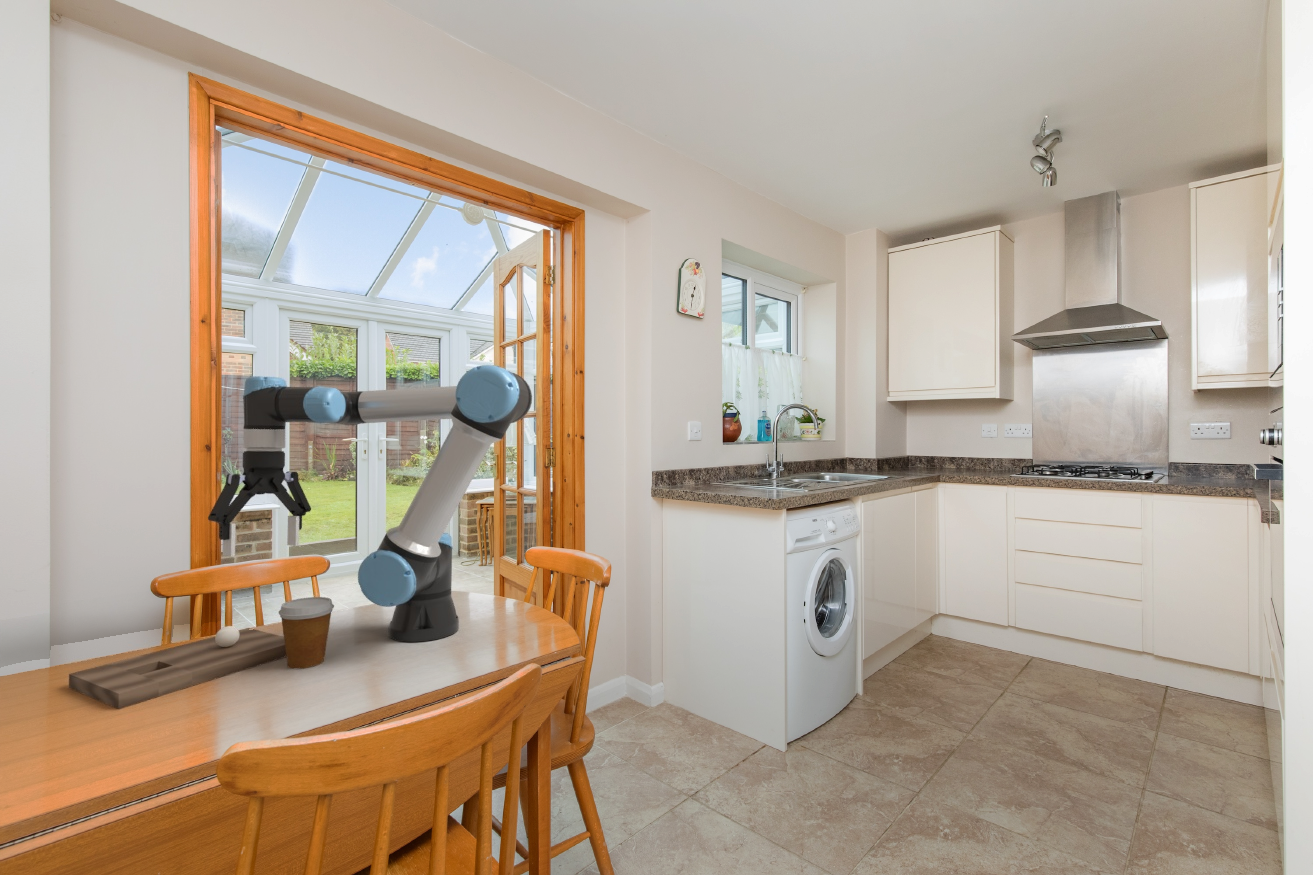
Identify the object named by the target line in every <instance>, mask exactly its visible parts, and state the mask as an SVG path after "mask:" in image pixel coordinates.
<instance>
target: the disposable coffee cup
mask: <svg viewBox="0 0 1313 875" xmlns="http://www.w3.org/2000/svg"><path fill="white" fill-rule="evenodd" d="M334 608H335V605H334V604H333V601H332V599H331V598H329V597H325V596H311V597H302V598H296V599H292V600H288V601H286V602H283V603H282V604H281V606H280V610H279V611H278V615H279V617H280V618H281V624H282V625H281V626H282V633H283V634H282V635H283V637H284V642H285V650H286V657H285V658H286V665H287V668H290V669H294V668H301V669H307V668H313V667H316V666H319V665H321V664H322V663H324V662H325V658H326V657H325V656H326V649H327V645H328V644H327V642H328V636H329V630H330V624H331V623H330V622H331V616H332V612H333V609H334ZM312 666H313V667H312Z"/></svg>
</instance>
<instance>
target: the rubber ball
mask: <svg viewBox="0 0 1313 875" xmlns="http://www.w3.org/2000/svg"><path fill="white" fill-rule="evenodd" d="M238 630H239V629H238V628H236V627H235V626H232V625H228V626H224V627H222V628H220V629H219V630H218V631H217V632H216V633H215V636H214V637H215V641H216V643H217V644H218V645H219V646H221V647H229V646H232V645H234V644H235V643H236V642H237V641H238V639H239V636H240V633H239V631H238Z"/></svg>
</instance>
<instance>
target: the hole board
mask: <svg viewBox="0 0 1313 875" xmlns="http://www.w3.org/2000/svg"><path fill="white" fill-rule="evenodd" d="M249 629H253V630H249ZM238 631H239V633H240V636H239V639H238V641H237V642H236V643H235V644H234V645H232V646H229V647H221V646H219V645H218V644H217V643H216V641H215V636H211V637H207V638H203V639H201V640H196V641H191V642H188V643H185V644H180V645H176V646H172V647H169V648H165V649H161V650H157V651H153V652H149V653H145V654H141V655H138V656H134V657H130V658H126V659H122V660H118V661H117V660H116V661H113V662H109V663H105V664H103V665H99V666H95V667H91V668H87V669H86V668H85V669H83V670H79V671H76V672H72V673H71V672H70V673H68V689H70V690H73V691H75V692H77V693H80V694H83V695H84V696H86V697H89V698H91V699H93V700H96V701H98V702H101V703H103V704H105V705H108V706H110V707H112V708H115V709H117V710H121V709H124V708H126V707H130V706H133V705H136V704H140V703H142V702H147V701H149V700H151V699H154V698H158V697H161V696H164V695H168V694H171V693H174V692H177V691H180V690H184V689H187V688H190V687H193V685H194V686H197V685H200V684H203V683H206V682H210V681H213V680H216V679H220V678H222V677H225V676H229V675H231V674H234V673H238V672H240V671H245V670H247V669H251V668H254V667H256V666H257V665H258V666H261V665H264V664H267V663H270V662H274V661H277V660H279V659H282V658H287V657H286V650H285V642H284V635H283V636H282V635H279V634H275V633H271V632H266V631H262V630H259V629H255V628H250V627H247V628H241V629H238ZM260 664H261V665H260ZM215 678H216V679H215ZM209 680H210V681H209Z"/></svg>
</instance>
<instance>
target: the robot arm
mask: <svg viewBox="0 0 1313 875" xmlns="http://www.w3.org/2000/svg"><path fill="white" fill-rule="evenodd" d="M532 393H533V392H532V390H531V388H530V385H529V384H528V382H527V381H526V380H525V379H524V378H523V377H522V376H521V375H519V374H516V373H514V372H511V371H509V370H508V369H506V368H503V367H500V365H491V364H490V365H489V364H486V365H485V364H484V365H478V366H475V367H473V368H471V369H469V370H468V371H466V372H465V373H464V374H463V375H462V377H460V379H459V381H458V383H457V384H456V385H451V386H450V385H449V386H436V387H433V386H432V387H431V386H430V387H419V388H418V387H414V388H412V387H411V388H398V389H397V388H396V389H380V390H379V389H378V390H362V391H361V390H359V391H357V390H356V391H340V390H339V389H338V388H335V387H328V386H321V385H320V386H305V387H304V386H296V387H295V386H293V387H292V386H287V381H286V379H284V378H282V377H275V376H261V375H260V376H257V375H256V376H255V375H254V376H249V377H247V378H246V379H245V381H244V389H243V395H242V399H243V400H242V401H243V430H242V432H243V435H242V440H243V442H242V447H243V448H244V449H246V450H244V451H243V452H242V469H243V472H242V474H241V475H240V474H239V473H228V474H227V475H226V477H225V484H224V487H223V488H222V490H221V492H220V494H219V495H218V498H217V500H216V501H215V504H214V506H213V508H212V510H211V511H210V512H209V514H208V517H207V520H208V521H209V522H214V523H216V524H218V538H219V540H222V557H223V556H225V557H235V556H236V527H237V526H236V525H237V524H236V523H234V522H233V521H234V519H235V518H236V517H237V516H238V515H239V513H240V512H241V510H242V509H243V508H244V507H245V506H246V504H247V503H248V502H249V501H250V500H251V499H252V498H253V497H255V495H265V494H268V495H269V494H270V495H271V494H273V495H275V497H276V498H277V499H278V501H280V503H282V504H283V506H284V507H285V508H286V509H287V510H288V512H289V513H290V514H291V515H287V538H286V539H287V542H286V543H287V544H286V545H287V546H293V547H299V546H300V531H301V530H302V527H303V517H304V516H306V515H307V513H310V512H311V510H312V507H311V505H310V503H309V501H308V498H307V496H306V495H305V494H306V493H305V492H304V490H303V488H302V485H301V483H300V481H299V472H298V471H290V470H289V471H288V470H287V471H286V472H284V468H285V466H286V465H285V464H286V452H285V451H284V450H283V449H285V448H286V423H305V424H306V423H307V424H308V423H309V424H310V423H312V424H313V423H314V424H332V425H345V426H356V425H361V424H374V423H392V422H393V423H395V422H397V423H398V422H414V421H430V420H431V421H433V420H434V421H437V420H451V422H452V427H451V428H450V430H449V432H448V434H447V435H446V437H445V439H444V441H443V443H442V445H441V447H440V449H439V451H438V452H437V454H436V456H435V458H434V460H433V461H432V464H431V465H430V467H429V469H428V471H427V472H426V475H425V477H424V479H423V480H422V481H421V484H420V485H419V488H418V489H417V491H416V494H415V495H414V497H413V499H412V501H411V503H410V504H409V506H408V508H407V511H406V512H405V514H404V515H403V517H402V520H401V521H400V523H399V525H397V526H394V527H390V528H389V529H388V530H387V531H386V534H385V535H384V537H383V539H382V541H381V542H380V544H379V546H378V548H377V550H375V551H373V552H371V553H369V555H368V556H366V557H365V558H364V559H363V561H361V563H360V564H359V565H360V566H359V568H358V571H357V582H358V585H359V587H360V590H361V593H362V594H363V595H364V597H365V598H366V600H369V601H370V602H371V603H373V604H375V605H377V606H379V607H385V608H386V607H387V608H388V607H389V608H391V607H395V608H394V611H393V614H392V618H391V620H390V623H389V625H388V637H389V638H390V639H392V640H394V641H400V642H407V643H408V642H411V643H412V642H413V643H414V642H415V643H417V642H428V641H434V640H439V639H442V638H446V637H449V636H451V635H453V634H456V633H457V631H459V630H460V624H459V623H460V618H459V616H458V615H457V612H456V611H457V610H456V607H455V606H456V605H455V604H454V600H453V597H452V581H453V580H452V576H453V575H452V573H453V572H452V570H453V569H452V568H453V550H454V548H453V542H452V541H453V539H452V536H451V534H449V533H448V532H445V531H446V529H447V527H448V525H449V524H450V521H451V520H452V518H453V516H454V514H455V512H456V511H457V508H458V506H459V504H460V503H461V501H462V499H463V497H464V495H465V493H466V491H467V490H468V488H469V486H470V484H471V482H472V480H473V478H475V475H476V474H477V471H478V469H479V467H480V465H481V463H482V461H483V460H484V458H485V456H486V455H487V453H488V451H489V449H490V447H491V445H492V444H495V443H496V442H500V441H502V440H503V438H504V436H505V435H506V432H507V431H508V429H509V427H510V425H511V424H513V423H517V422H520V420H522V419H523V418H524V417H525V416H526V415H528V413H529V411H530V408H531V406H532V402H533V394H532ZM284 481H285V482H286V485H287V487H288V489H289V492H290V493H291V494H289V492H288V490H287V488H286V487H285V486H284V485H283V482H284ZM241 484H244V486H243V487H242V488H241V489H240V490H239V491H238V489H239V487H240V485H241ZM237 491H238V494H237V495H236V493H237ZM235 495H236V497H235ZM234 497H235V498H234Z"/></svg>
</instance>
